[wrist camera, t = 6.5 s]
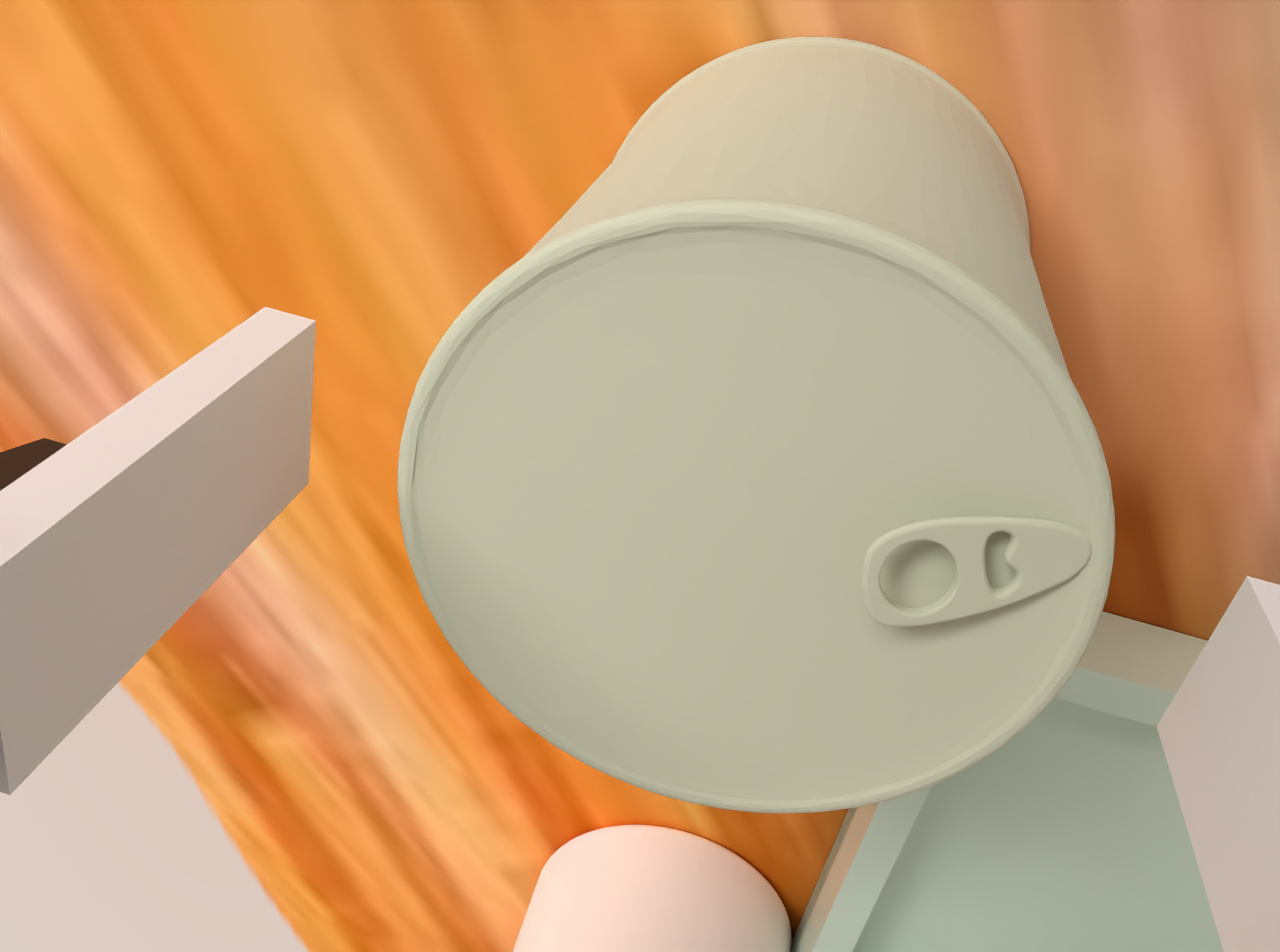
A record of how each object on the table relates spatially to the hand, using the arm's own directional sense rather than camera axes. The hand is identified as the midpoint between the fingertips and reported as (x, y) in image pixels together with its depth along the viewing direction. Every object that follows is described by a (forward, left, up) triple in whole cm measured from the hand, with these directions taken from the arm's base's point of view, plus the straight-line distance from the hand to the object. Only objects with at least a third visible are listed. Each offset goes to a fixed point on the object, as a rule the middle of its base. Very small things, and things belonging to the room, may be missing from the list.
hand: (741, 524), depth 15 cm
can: (0, 0, -10) cm, 10 cm away
